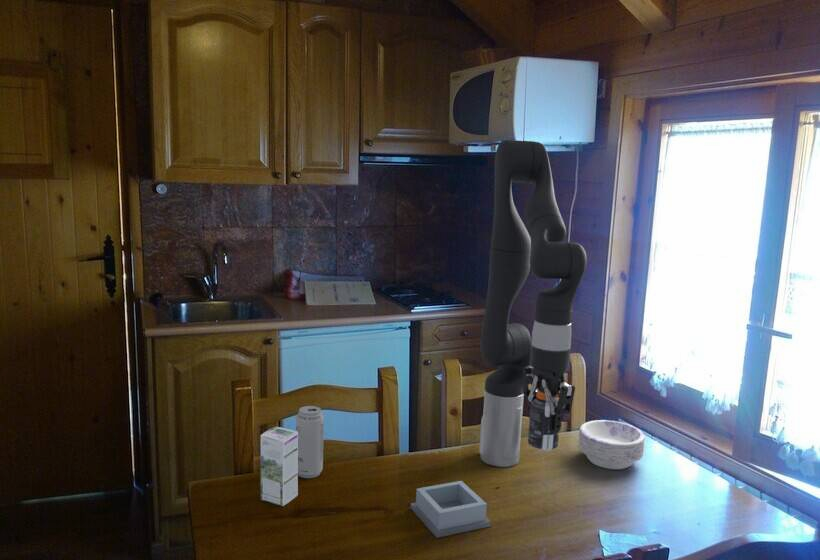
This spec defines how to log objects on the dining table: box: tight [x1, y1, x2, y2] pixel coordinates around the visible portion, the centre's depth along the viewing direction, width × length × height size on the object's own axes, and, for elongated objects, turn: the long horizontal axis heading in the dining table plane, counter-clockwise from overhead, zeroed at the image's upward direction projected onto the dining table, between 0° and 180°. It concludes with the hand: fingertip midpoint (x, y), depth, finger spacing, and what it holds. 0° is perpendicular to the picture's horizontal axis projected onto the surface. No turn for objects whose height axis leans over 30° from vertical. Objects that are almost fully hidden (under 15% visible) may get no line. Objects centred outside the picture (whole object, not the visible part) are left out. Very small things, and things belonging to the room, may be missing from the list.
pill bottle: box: [527, 390, 560, 451], centre depth 137 cm, size 6×6×11 cm
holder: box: [410, 480, 492, 538], centre depth 138 cm, size 12×12×4 cm
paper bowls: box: [578, 419, 646, 470], centre depth 167 cm, size 15×15×8 cm
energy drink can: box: [295, 405, 325, 479], centre depth 154 cm, size 6×6×15 cm
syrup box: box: [260, 426, 299, 507], centre depth 142 cm, size 6×6×14 cm
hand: (544, 425), depth 137 cm, fingers closed on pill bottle, 6 cm apart
